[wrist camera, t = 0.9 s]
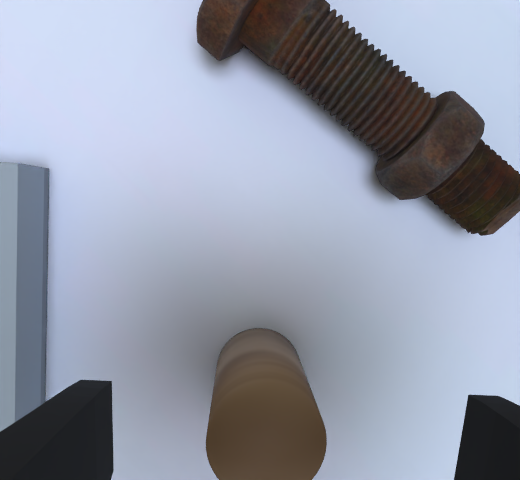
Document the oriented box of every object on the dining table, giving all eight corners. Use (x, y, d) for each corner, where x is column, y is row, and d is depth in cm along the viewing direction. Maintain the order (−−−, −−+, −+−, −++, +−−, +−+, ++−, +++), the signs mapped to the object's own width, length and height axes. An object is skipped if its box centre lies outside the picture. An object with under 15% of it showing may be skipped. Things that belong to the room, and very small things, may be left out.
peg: (297, 411, 23) (322, 502, 16) (214, 408, 23) (203, 499, 16) (302, 330, 23) (330, 386, 16) (218, 326, 22) (208, 382, 15)
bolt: (451, 220, 24) (223, 26, 23) (538, 149, 22) (287, -77, 20) (464, 282, 19) (174, 40, 18) (577, 200, 17) (250, -94, 15)
